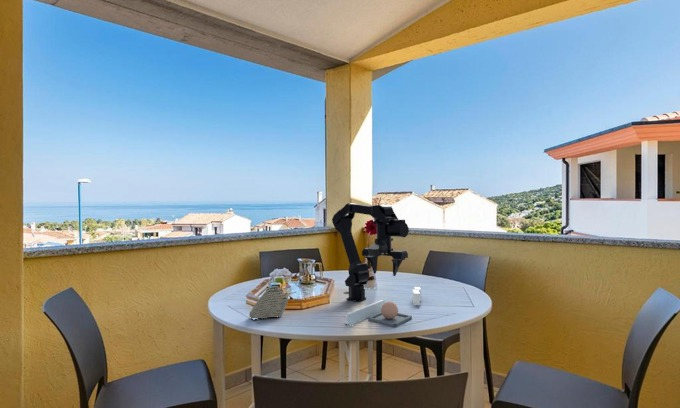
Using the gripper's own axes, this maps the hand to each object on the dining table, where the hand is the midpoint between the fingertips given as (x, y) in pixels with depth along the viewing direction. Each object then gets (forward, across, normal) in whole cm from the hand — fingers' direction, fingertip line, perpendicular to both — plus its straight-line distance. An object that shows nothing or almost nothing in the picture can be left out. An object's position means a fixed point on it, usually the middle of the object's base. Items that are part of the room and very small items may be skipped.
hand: (384, 274), depth 143 cm
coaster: (+13, +10, -12) cm, 20 cm away
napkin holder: (+14, +7, +16) cm, 22 cm away
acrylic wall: (+13, +2, -15) cm, 20 cm away
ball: (+10, +10, -12) cm, 18 cm away
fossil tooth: (+13, -27, -36) cm, 47 cm away
